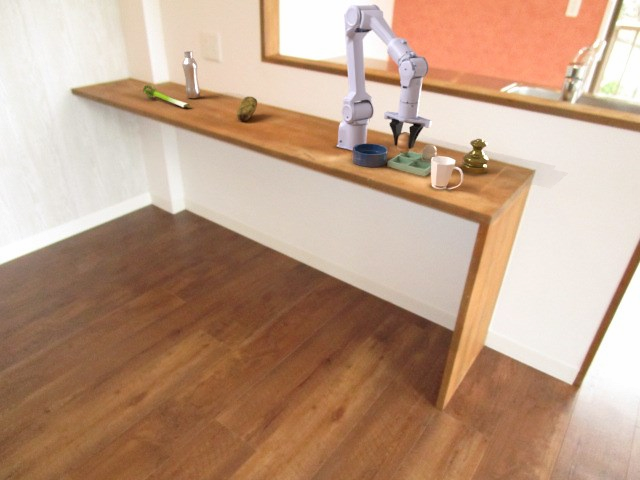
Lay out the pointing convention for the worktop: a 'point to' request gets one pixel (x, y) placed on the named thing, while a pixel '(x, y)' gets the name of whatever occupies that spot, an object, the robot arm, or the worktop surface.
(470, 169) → the gold decorative ornament
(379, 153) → the bowl
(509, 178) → the worktop surface
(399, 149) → the brown egg
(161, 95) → the leek
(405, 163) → the tray
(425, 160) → the cream egg
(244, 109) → the potato
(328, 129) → the worktop surface
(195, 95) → the plastic bottle
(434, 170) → the cup
